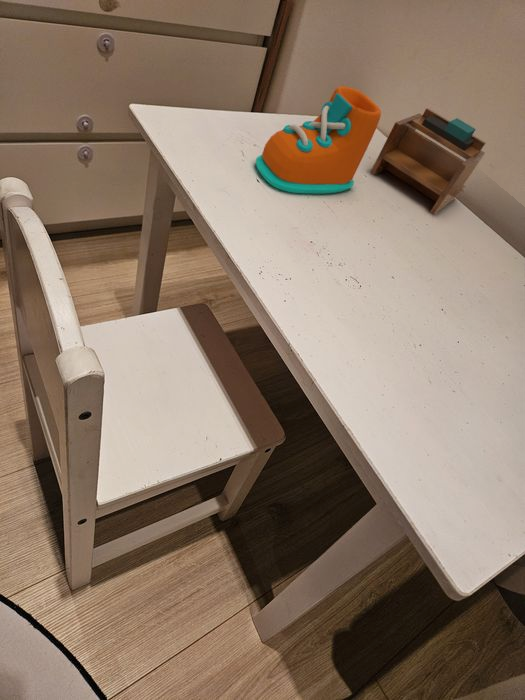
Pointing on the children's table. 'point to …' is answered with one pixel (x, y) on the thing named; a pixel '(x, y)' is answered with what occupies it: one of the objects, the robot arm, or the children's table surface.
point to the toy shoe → (322, 146)
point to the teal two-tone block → (451, 131)
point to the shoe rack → (427, 159)
